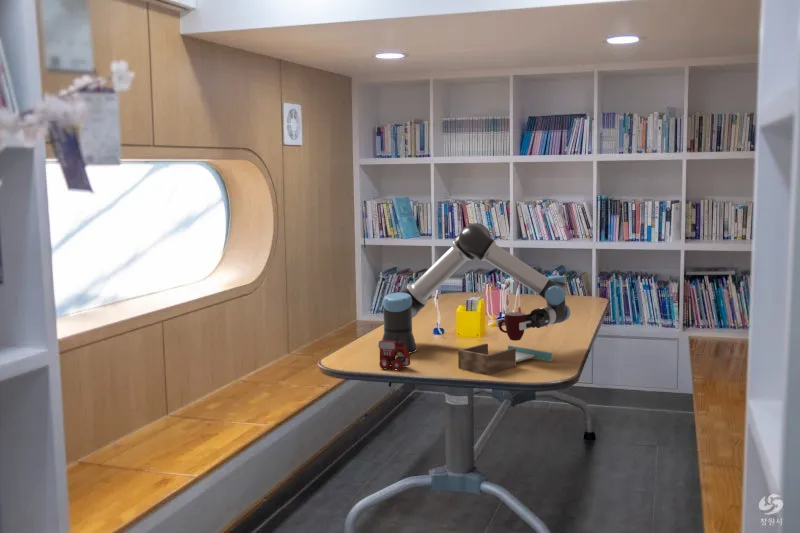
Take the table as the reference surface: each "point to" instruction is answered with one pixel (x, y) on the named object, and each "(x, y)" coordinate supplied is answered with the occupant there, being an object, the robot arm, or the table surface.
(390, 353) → the toy fire truck
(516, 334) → the mug
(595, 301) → the table surface
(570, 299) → the table surface
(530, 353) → the tray
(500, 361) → the box
